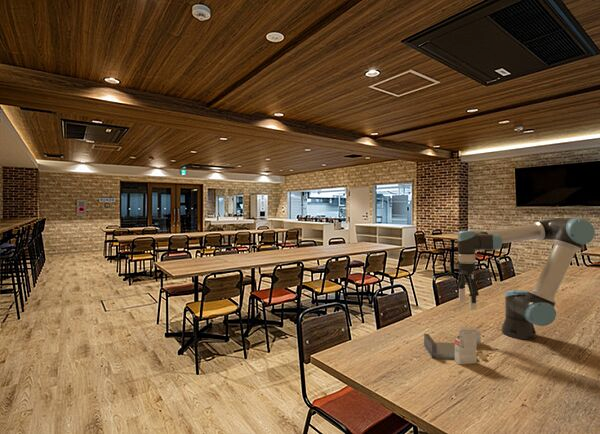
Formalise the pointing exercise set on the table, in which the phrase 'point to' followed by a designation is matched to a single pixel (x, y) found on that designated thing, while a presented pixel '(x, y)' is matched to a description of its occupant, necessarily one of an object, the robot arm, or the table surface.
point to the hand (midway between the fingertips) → (467, 305)
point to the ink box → (466, 347)
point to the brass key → (481, 355)
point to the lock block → (478, 333)
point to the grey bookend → (439, 348)
